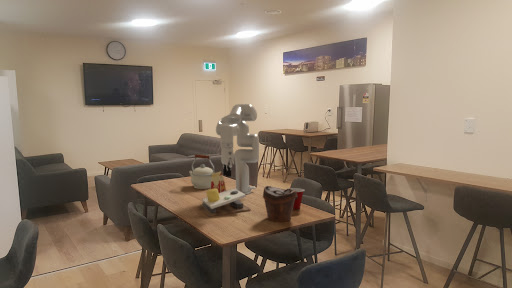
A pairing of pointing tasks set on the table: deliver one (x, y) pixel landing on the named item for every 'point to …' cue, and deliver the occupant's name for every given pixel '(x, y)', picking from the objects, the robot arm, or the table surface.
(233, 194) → the instrument plate
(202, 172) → the kettle
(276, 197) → the brown flower pot
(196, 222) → the table surface
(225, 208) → the leveling stand
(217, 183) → the milk carton
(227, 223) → the table surface
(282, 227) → the table surface
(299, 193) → the plastic cup
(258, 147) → the robot arm
